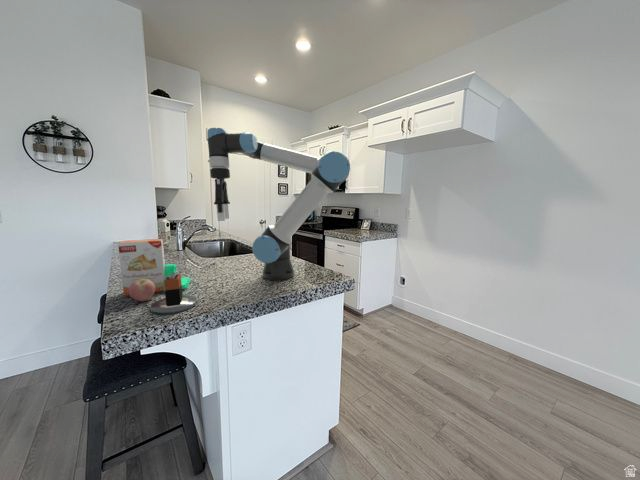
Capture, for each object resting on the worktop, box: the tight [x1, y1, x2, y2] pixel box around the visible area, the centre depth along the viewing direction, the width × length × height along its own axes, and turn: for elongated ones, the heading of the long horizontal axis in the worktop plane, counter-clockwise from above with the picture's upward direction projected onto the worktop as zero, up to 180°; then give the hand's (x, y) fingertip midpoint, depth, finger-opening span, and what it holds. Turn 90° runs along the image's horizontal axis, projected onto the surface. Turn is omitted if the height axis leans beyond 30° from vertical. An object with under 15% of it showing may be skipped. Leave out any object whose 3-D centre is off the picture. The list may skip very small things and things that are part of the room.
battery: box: [164, 272, 184, 306], centre depth 91 cm, size 4×7×10 cm, turn 21°
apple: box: [129, 279, 156, 302], centre depth 96 cm, size 8×8×8 cm
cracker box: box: [117, 238, 166, 297], centre depth 104 cm, size 14×6×21 cm, turn 115°
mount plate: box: [150, 294, 198, 316], centre depth 92 cm, size 14×14×1 cm
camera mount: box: [163, 263, 191, 292], centre depth 110 cm, size 12×8×10 cm, turn 16°
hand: (223, 219), depth 112 cm, fingers open, 13 cm apart
